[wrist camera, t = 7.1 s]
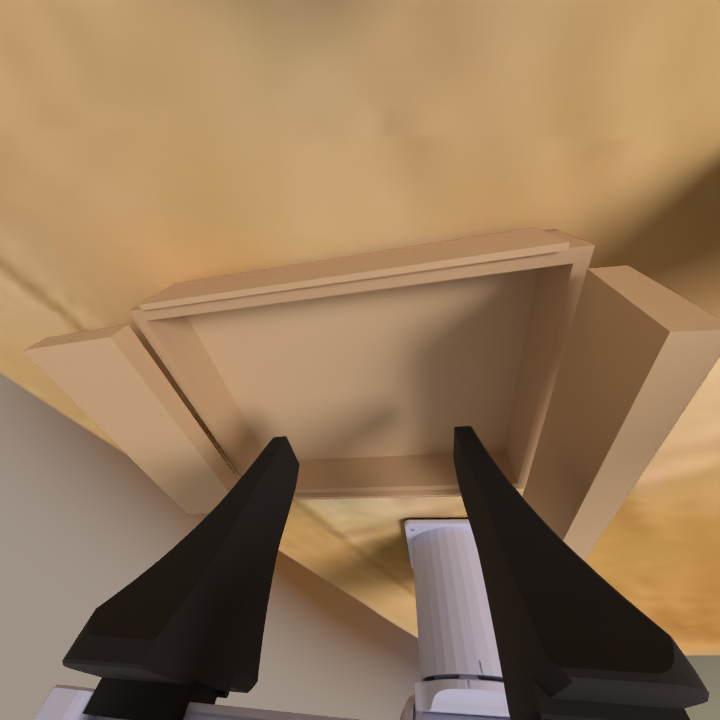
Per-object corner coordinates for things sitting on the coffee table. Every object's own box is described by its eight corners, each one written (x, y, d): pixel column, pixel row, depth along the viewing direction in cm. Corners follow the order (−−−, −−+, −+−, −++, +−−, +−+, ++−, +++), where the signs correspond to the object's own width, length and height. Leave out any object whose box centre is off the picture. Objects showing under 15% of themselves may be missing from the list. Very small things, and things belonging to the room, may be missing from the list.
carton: (509, 454, 18) (526, 495, 16) (267, 464, 21) (253, 500, 19) (556, 221, 11) (603, 237, 8) (163, 283, 13) (118, 307, 11)
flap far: (187, 514, 18) (194, 499, 19) (243, 510, 18) (248, 495, 18) (23, 350, 11) (47, 337, 12) (110, 337, 11) (128, 324, 11)
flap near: (522, 496, 15) (543, 498, 15) (543, 578, 12) (569, 583, 12) (587, 268, 8) (627, 265, 8) (670, 331, 6) (737, 329, 5)
